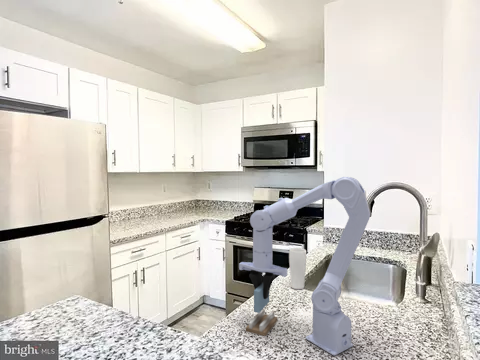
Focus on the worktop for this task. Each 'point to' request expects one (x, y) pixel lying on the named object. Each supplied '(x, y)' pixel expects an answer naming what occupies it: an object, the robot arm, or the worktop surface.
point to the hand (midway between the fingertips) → (262, 297)
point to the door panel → (259, 299)
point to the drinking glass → (297, 267)
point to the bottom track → (262, 323)
